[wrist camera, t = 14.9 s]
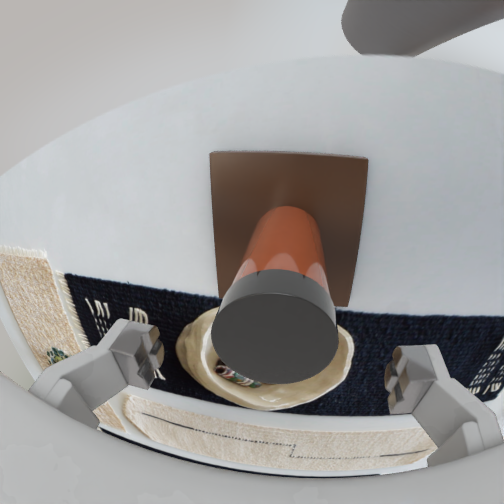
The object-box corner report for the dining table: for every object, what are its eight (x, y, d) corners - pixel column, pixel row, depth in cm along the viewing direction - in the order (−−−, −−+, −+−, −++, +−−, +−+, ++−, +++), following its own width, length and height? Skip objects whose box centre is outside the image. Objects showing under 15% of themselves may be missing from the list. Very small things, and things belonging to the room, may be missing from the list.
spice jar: (251, 202, 18) (204, 287, 9) (325, 206, 17) (349, 297, 8) (252, 267, 20) (217, 377, 11) (319, 271, 19) (327, 387, 10)
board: (213, 151, 18) (209, 152, 17) (365, 157, 16) (368, 158, 16) (221, 291, 23) (218, 298, 22) (346, 299, 21) (347, 307, 20)
